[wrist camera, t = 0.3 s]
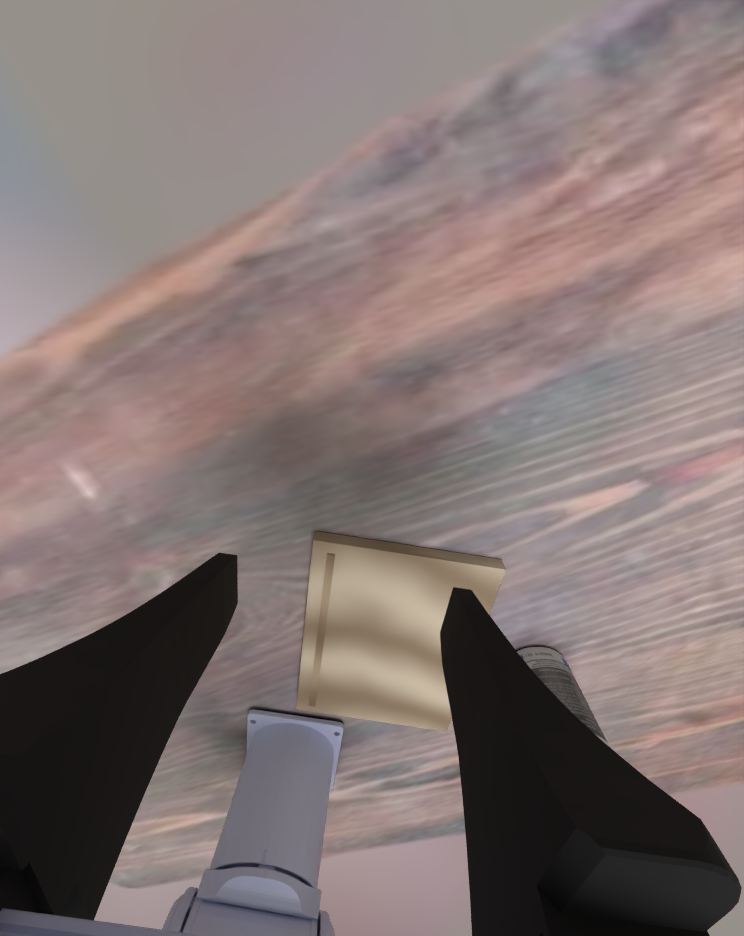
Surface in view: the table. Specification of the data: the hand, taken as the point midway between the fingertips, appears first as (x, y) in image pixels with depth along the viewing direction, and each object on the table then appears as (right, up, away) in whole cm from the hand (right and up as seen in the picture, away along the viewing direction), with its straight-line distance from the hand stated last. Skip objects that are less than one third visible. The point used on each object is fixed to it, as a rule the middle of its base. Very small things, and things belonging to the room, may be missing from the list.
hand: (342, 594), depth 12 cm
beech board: (+2, -8, +14) cm, 16 cm away
